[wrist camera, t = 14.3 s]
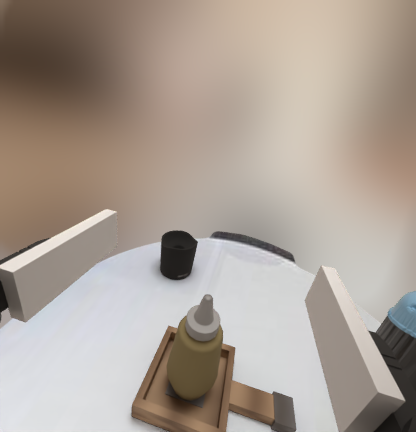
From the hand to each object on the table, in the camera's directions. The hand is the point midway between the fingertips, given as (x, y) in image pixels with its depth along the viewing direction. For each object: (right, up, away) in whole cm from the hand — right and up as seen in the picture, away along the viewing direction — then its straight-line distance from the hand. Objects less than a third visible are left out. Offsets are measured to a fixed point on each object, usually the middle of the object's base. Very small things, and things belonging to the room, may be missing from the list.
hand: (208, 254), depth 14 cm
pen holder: (-9, -13, +47) cm, 50 cm away
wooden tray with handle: (+2, -26, +21) cm, 34 cm away
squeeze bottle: (-3, -24, +21) cm, 33 cm away
